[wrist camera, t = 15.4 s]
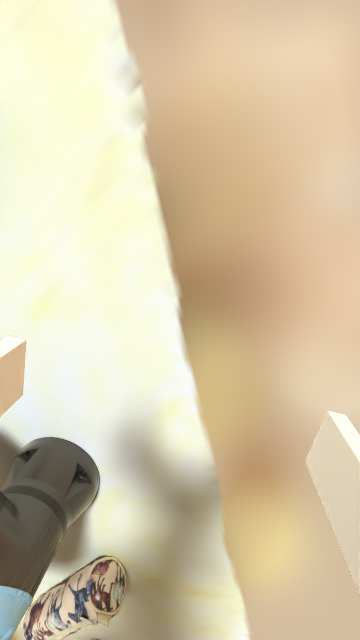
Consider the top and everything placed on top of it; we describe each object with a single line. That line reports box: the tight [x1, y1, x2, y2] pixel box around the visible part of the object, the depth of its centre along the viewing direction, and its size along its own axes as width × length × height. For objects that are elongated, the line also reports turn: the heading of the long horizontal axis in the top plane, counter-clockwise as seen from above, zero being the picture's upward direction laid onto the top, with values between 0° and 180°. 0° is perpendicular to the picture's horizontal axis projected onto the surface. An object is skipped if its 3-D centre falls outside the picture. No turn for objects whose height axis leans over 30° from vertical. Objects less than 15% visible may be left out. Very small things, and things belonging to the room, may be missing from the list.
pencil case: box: [23, 556, 126, 640], centre depth 58 cm, size 22×8×10 cm, turn 134°
